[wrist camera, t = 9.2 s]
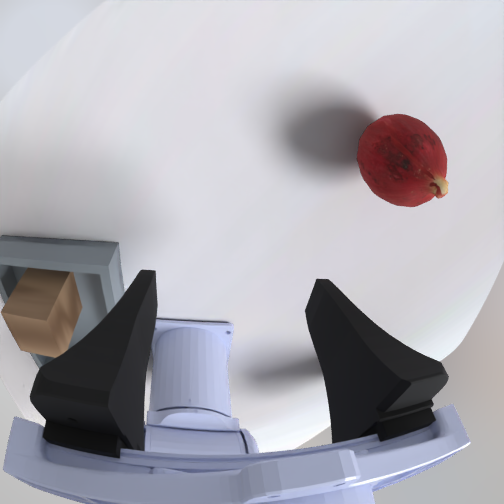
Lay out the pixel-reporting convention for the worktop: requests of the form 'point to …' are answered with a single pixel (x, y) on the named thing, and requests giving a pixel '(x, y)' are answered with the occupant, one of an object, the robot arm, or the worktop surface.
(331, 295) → the robot arm
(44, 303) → the block
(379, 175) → the pomegranate
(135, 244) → the worktop surface
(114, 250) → the tray
